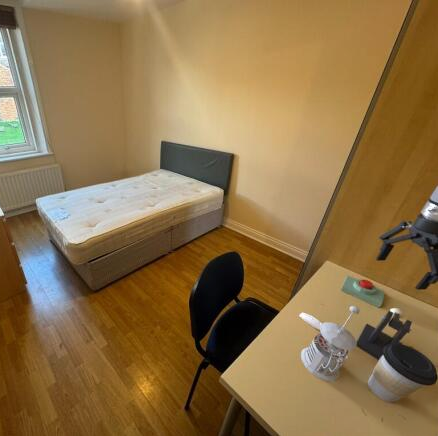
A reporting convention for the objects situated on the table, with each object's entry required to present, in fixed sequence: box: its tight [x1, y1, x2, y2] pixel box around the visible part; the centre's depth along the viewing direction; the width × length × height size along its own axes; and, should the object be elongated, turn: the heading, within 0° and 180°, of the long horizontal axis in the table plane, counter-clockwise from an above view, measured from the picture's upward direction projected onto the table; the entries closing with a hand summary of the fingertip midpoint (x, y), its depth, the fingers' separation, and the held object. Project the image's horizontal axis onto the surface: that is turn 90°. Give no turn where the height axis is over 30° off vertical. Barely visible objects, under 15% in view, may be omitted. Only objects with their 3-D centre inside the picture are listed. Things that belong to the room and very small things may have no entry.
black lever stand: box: [356, 310, 413, 361], centre depth 70 cm, size 11×9×13 cm
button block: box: [340, 275, 386, 309], centre depth 91 cm, size 12×9×4 cm
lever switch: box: [387, 307, 405, 332], centre depth 72 cm, size 15×3×3 cm, turn 128°
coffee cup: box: [367, 343, 438, 404], centre depth 59 cm, size 9×9×15 cm
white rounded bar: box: [299, 312, 324, 331], centre depth 80 cm, size 3×8×3 cm, turn 36°
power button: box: [360, 279, 374, 289], centre depth 90 cm, size 4×4×2 cm
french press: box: [300, 305, 360, 382], centre depth 62 cm, size 10×12×25 cm
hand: (398, 273), depth 77 cm, fingers open, 13 cm apart
